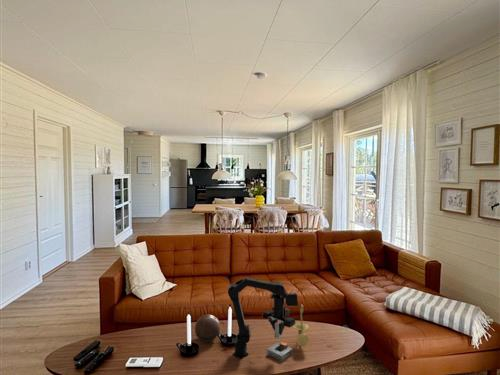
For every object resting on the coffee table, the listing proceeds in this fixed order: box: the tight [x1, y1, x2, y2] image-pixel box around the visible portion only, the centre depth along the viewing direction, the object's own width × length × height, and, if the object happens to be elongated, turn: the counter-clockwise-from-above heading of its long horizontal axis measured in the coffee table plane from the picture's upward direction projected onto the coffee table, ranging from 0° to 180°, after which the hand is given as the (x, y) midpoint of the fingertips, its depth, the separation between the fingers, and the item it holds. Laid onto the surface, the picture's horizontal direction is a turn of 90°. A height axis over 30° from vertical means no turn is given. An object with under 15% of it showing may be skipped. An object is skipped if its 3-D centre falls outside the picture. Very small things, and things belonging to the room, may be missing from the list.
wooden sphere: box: [194, 314, 221, 343], centre depth 186 cm, size 15×15×15 cm
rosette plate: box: [266, 341, 293, 362], centre depth 173 cm, size 10×10×4 cm
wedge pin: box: [274, 320, 283, 340], centre depth 171 cm, size 3×3×8 cm
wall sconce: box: [292, 304, 309, 347], centre depth 182 cm, size 14×10×25 cm
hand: (278, 333), depth 171 cm, fingers closed on wedge pin, 3 cm apart
